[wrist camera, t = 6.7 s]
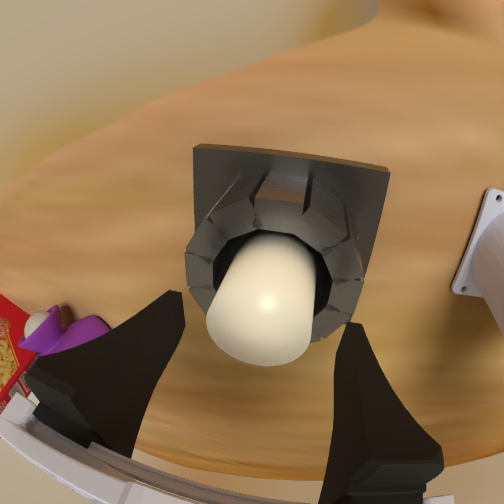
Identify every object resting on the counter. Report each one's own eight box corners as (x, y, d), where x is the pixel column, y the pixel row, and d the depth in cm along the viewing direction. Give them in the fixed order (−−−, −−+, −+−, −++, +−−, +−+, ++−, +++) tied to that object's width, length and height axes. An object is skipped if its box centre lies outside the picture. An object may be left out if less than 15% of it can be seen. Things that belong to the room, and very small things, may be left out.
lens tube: (386, 167, 16) (408, 199, 12) (348, 313, 22) (349, 368, 18) (200, 143, 18) (160, 166, 14) (204, 289, 24) (178, 337, 19)
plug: (324, 229, 16) (322, 302, 11) (309, 294, 18) (299, 373, 13) (242, 214, 17) (205, 279, 12) (237, 280, 19) (206, 353, 14)
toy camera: (65, 273, 27) (2, 338, 19) (162, 363, 30) (122, 440, 22) (43, 311, 32) (-3, 364, 24) (120, 382, 36) (86, 441, 27)
